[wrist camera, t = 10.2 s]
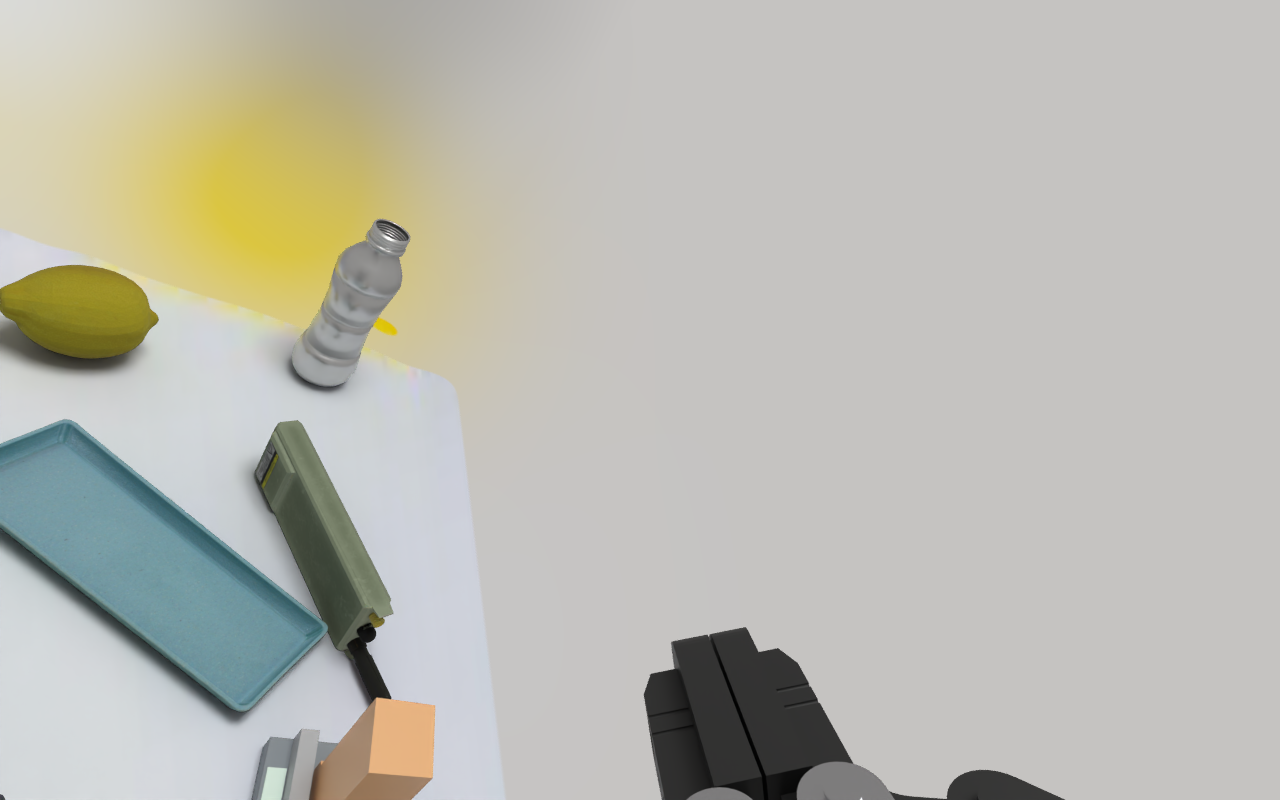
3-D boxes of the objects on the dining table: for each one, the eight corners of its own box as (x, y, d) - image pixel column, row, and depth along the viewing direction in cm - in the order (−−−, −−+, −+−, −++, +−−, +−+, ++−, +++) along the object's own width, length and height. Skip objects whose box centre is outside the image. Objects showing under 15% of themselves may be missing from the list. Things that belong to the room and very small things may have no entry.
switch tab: (361, 854, 44) (432, 783, 40) (300, 852, 43) (367, 778, 38) (369, 773, 48) (435, 701, 44) (314, 769, 46) (376, 692, 42)
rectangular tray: (322, 640, 55) (334, 623, 54) (234, 729, 47) (246, 711, 46) (62, 437, 54) (69, 416, 53) (-74, 492, 46) (-69, 468, 45)
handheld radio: (284, 467, 65) (397, 703, 55) (247, 471, 62) (359, 720, 52) (307, 419, 62) (432, 660, 52) (269, 421, 59) (393, 676, 49)
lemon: (145, 328, 66) (168, 264, 63) (148, 385, 62) (173, 319, 59) (-7, 302, 59) (9, 228, 55) (-16, 365, 54) (2, 288, 51)
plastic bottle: (358, 391, 78) (437, 254, 69) (303, 398, 72) (382, 249, 64) (329, 351, 80) (402, 213, 71) (273, 355, 74) (346, 205, 65)
